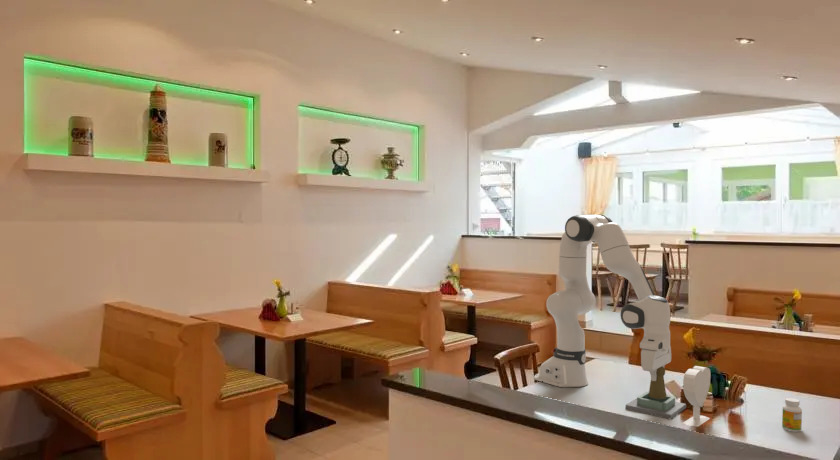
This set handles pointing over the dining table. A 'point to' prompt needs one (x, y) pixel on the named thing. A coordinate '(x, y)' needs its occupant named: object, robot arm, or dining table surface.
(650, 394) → the olive green tapered cylinder
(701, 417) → the heart sculpture
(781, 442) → the dining table surface
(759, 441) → the dining table surface
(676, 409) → the housing
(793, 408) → the supplement bottle
